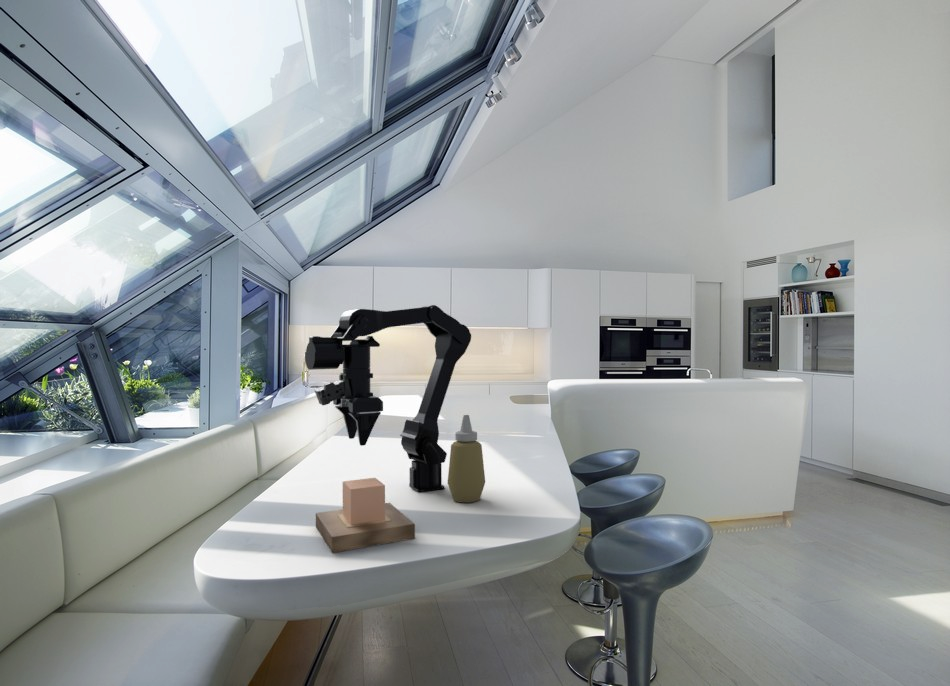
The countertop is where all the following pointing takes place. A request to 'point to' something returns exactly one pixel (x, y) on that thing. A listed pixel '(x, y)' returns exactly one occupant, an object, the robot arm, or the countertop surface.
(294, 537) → the countertop surface
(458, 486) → the squeeze bottle
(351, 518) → the cube
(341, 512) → the base board
